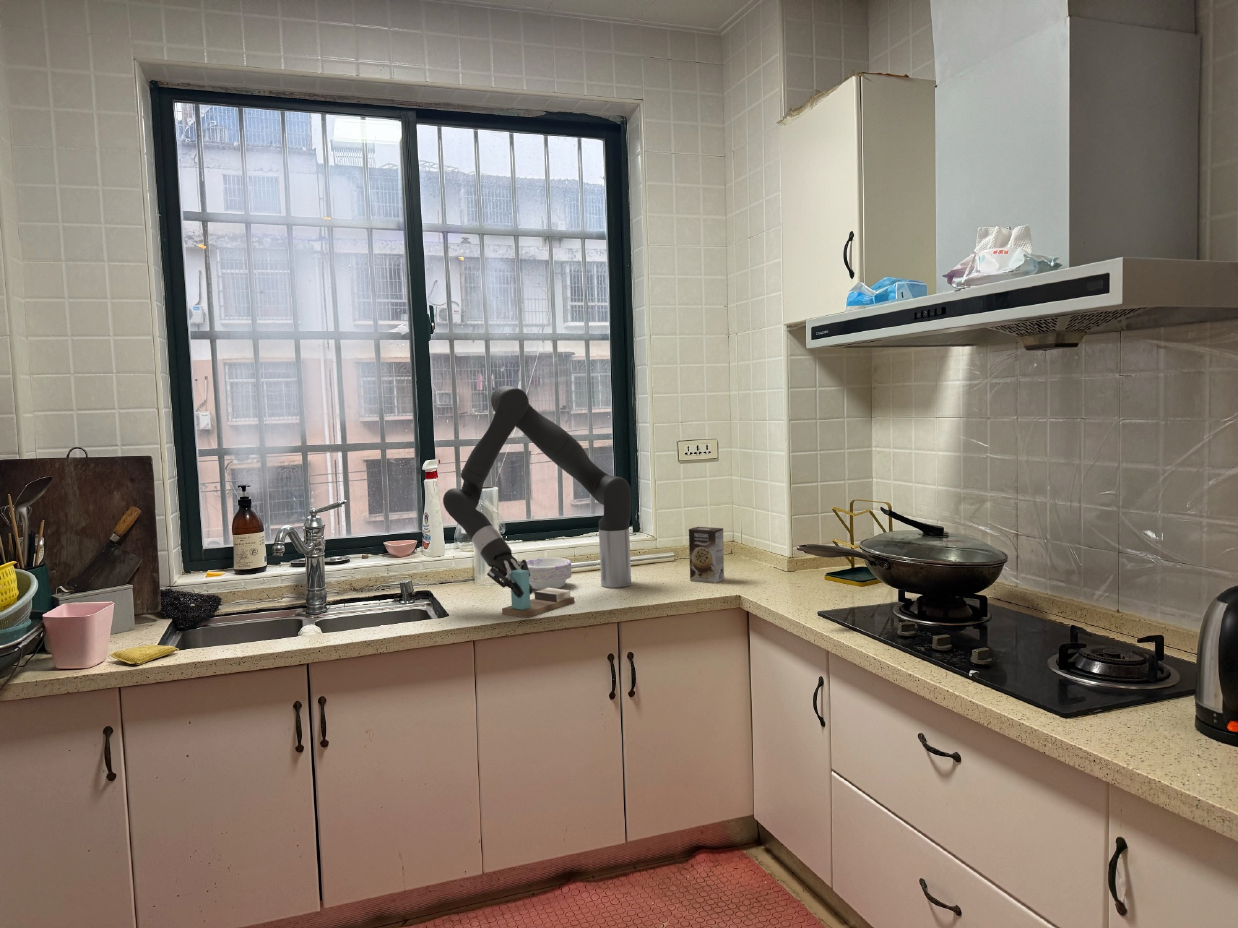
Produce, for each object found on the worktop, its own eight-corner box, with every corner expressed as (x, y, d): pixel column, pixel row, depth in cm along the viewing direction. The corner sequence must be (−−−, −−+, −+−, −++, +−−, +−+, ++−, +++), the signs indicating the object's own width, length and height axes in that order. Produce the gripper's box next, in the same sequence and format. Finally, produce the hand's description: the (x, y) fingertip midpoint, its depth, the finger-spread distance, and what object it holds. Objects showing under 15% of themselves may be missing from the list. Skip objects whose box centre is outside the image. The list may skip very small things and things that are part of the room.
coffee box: (689, 581, 261) (687, 529, 260) (698, 577, 267) (696, 525, 266) (716, 583, 257) (714, 530, 255) (725, 579, 262) (723, 527, 261)
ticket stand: (550, 598, 245) (549, 586, 245) (574, 602, 240) (573, 589, 239) (502, 613, 230) (501, 600, 229) (526, 617, 224) (526, 604, 224)
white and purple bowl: (570, 591, 253) (569, 565, 253) (519, 593, 254) (517, 567, 253) (574, 581, 269) (573, 556, 268) (526, 582, 269) (524, 557, 268)
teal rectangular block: (519, 605, 231) (517, 569, 231) (530, 607, 229) (528, 570, 228) (511, 608, 229) (510, 571, 228) (522, 609, 227) (520, 572, 226)
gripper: (478, 541, 227) (514, 591, 220) (515, 533, 238) (550, 580, 231) (466, 559, 230) (500, 608, 224) (503, 550, 241) (537, 597, 235)
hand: (526, 594), depth 228 cm, fingers closed on teal rectangular block, 3 cm apart
